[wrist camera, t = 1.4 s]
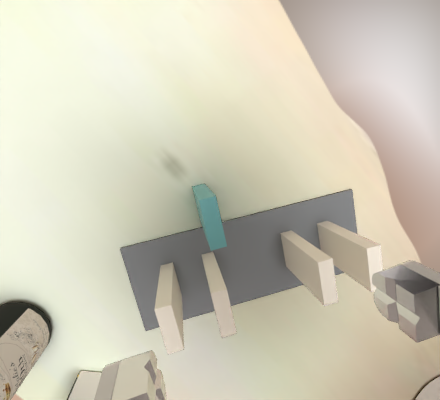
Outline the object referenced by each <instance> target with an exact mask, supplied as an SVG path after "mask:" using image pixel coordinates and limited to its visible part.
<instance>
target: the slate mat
mask: <svg viewBox="0 0 440 400" xmlns="http://www.w3.org/2000/svg"><path fill="white" fill-rule="evenodd" d="M324 221H329V222H331V223H334V224H336V225H338V226H340V227H343V228H345V229H347V230H349V231H351V232H354V233H356V234H357V227H356V219H355V210H354V201H353V192H352V189H349V190H345V191H342V192H338V193H334V194H330V195H326V196H322V197H318V198H314V199H310V200H306V201H302V202H298V203H295V204H291V205H287V206H283V207H279V208H275V209H271V210H267V211H263V212H259V213H255V214H252V215H248V216H244V217H240V218H236V219H232V220H228V221H224V222H222V226H223V230H224V235H225V239H226V244H227V247H223V248H219V249H215V250H212V251H211V250H210V247H209V244H208V241H207V239H206V236H205V233H204V230H203V227H201V228H197V229H193V230H189V231H185V232H181V233H177V234H173V235H169V236H165V237H161V238H158V239H154V240H150V241H146V242H142V243H138V244H134V245H130V246H126V247H122V248H120V250H121V254H122V257H123V260H124V263H125V266H126V270H127V273H128V276H129V279H130V282H131V286H132V289H133V292H134V295H135V298H136V302H137V305H138V308H139V311H140V314H141V318H142V321H143V324H144V327H145V330H146V331H147V330H151V329H154V328H158V327H159V323H158V320H157V317H156V313H155V310H154V309H155V302H156V295H157V288H158V281H159V274H160V267H161V265H164V264H168V263H172V262H173V265H174V268H175V272H176V276H177V280H178V283H179V287H180V291H181V294H182V310H183V320H185V319H188V318H192V317H195V316H199V315H202V314H205V313H209V312H212V311H215V309H214V305H213V301H212V297H211V293H210V289H209V284H208V280H207V276H206V272H205V268H204V264H203V260H202V254H206V253H210V252H213V253H214V255H215V258H216V261H217V264H218V266H219V269H220V272H221V275H222V277H223V280H224V283H225V285H226V288H227V292H228V296H229V301H230V305H231V306H233V305H236V304H239V303H243V302H246V301H250V300H253V299H256V298H260V297H263V296H267V295H270V294H273V293H277V292H280V291H284V290H287V289H290V288H294V287H297V286H301V285H304V284H303V283H302V282H301V281H300V280H299V279H298V278H297V277H296V276H295V275H294V274H293V273H292V272H291V271H290V270H289V269H288V268H287V267H286V263H285V257H284V251H283V246H282V240H281V234H280V233H283V232H287V231H291V230H292V231H293V232H294V233H296V234H297V235H299V236H300V237H302V238H303V239H305V240H306V241H308V242H309V243H311V244H312V245H314V246H315V247H317V248H318V249H319V250H321V248H320V241H319V234H318V227H317V223H321V222H324ZM334 273H335V275H338V274H341V273H344V272H343V271H341V270H340V269H339V268H337V267H336V266H334Z"/></svg>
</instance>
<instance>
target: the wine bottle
mask: <svg viewBox="0 0 440 400" xmlns="http://www.w3.org/2000/svg"><path fill="white" fill-rule="evenodd" d="M50 335H51V327H50V323H49V320H48V318H47V317H46V316H45V314H44V313H43V312H42V311H41V310H39V309H38V308H36V307H35V306H32V305H29V304H25V303H7V304H4V305H1V306H0V400H11V399H12V397H13V396H14V394H15V393H16V391H17V390H18V388H19V387H20V385H21V384H22V382H23V381H24V379H25V378H26V376H27V375H28V373H29V372H30V370H31V369H32V367H33V366H34V364H35V363H36V361H37V360H38V358H39V357H40V355H41V354H42V352H43V351H44V349H45V348H46V346H47V345H48V343H49V340H50Z"/></svg>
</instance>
